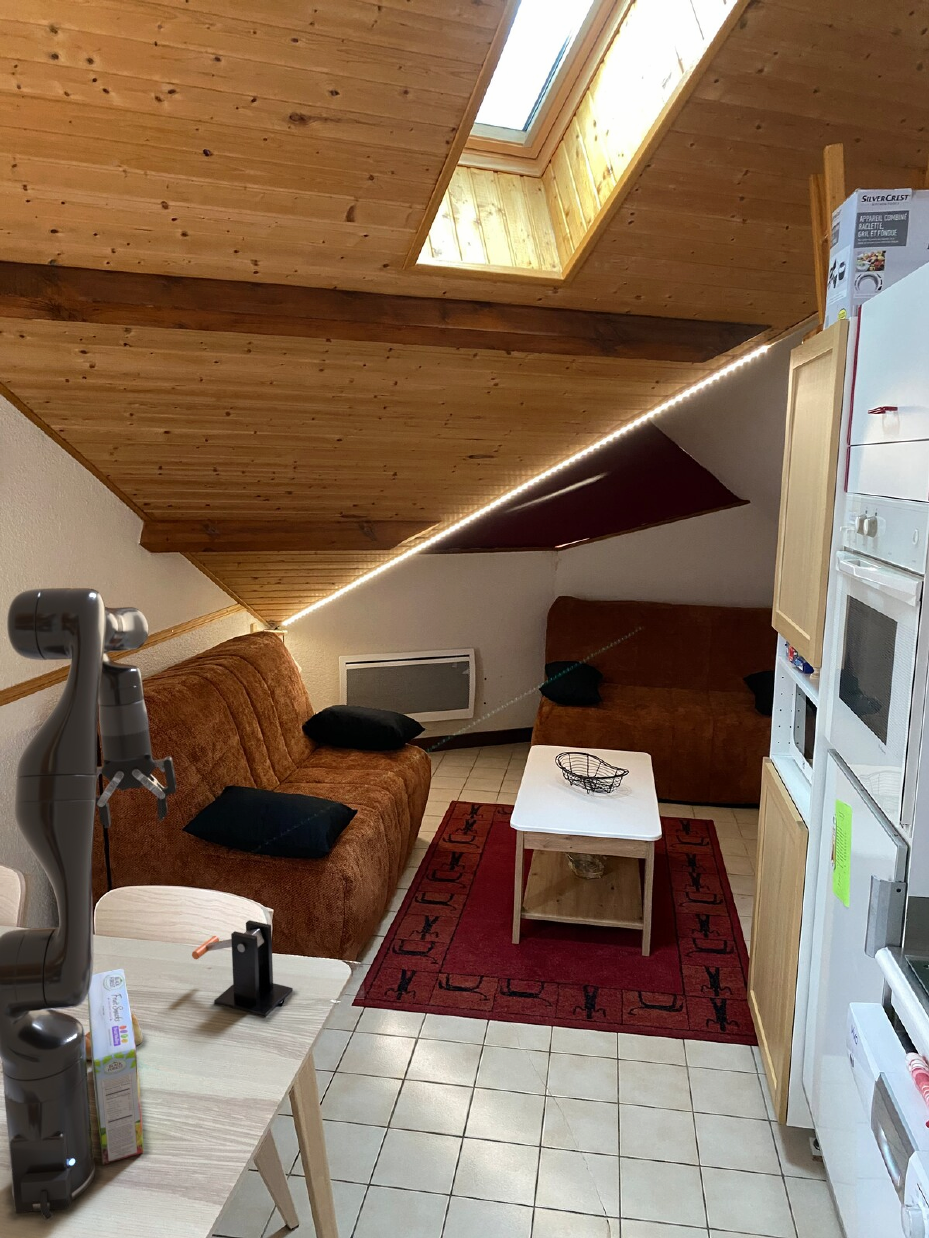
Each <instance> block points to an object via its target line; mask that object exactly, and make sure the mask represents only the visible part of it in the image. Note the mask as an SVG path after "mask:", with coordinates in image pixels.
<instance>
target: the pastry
mask: <svg viewBox="0 0 929 1238" xmlns="http://www.w3.org/2000/svg"><path fill="white" fill-rule="evenodd" d="M131 1018H132V1025H133V1031H134V1038H135V1046H139V1045H140V1044H142V1042H143V1041H144V1036H143V1032H142V1029H141V1027H140V1024H139V1020H138V1018H137V1016H136V1014H134V1013H132V1012H131ZM85 1044H86V1060H89V1061H92V1056H91V1042H90V1031H88V1032H87V1033H85Z"/></svg>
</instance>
